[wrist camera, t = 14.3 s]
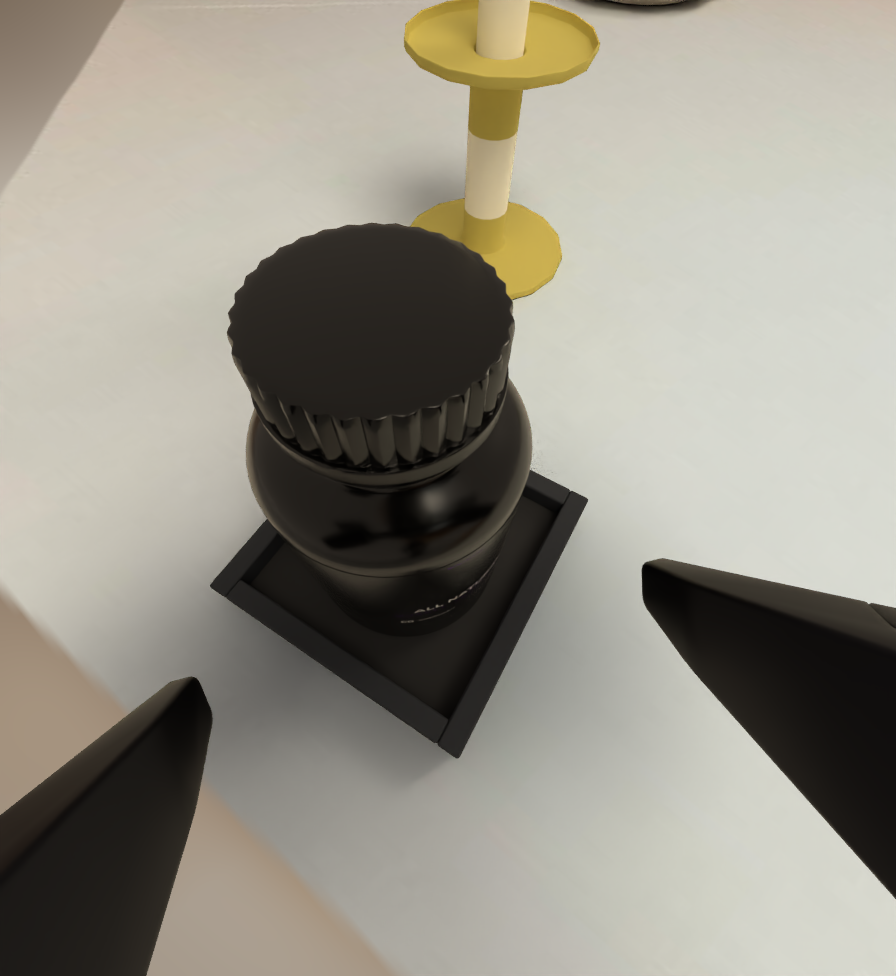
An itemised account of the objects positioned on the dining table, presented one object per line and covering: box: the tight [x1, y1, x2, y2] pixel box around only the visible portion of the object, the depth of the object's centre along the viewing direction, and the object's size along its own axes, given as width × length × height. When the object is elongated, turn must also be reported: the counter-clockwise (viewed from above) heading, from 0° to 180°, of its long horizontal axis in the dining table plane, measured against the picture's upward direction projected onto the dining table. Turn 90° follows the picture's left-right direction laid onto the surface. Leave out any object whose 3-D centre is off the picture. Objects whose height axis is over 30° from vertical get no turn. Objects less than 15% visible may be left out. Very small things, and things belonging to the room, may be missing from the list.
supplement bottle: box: [227, 223, 532, 637], centre depth 13 cm, size 7×7×12 cm
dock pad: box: [210, 470, 588, 758], centre depth 18 cm, size 11×11×2 cm
